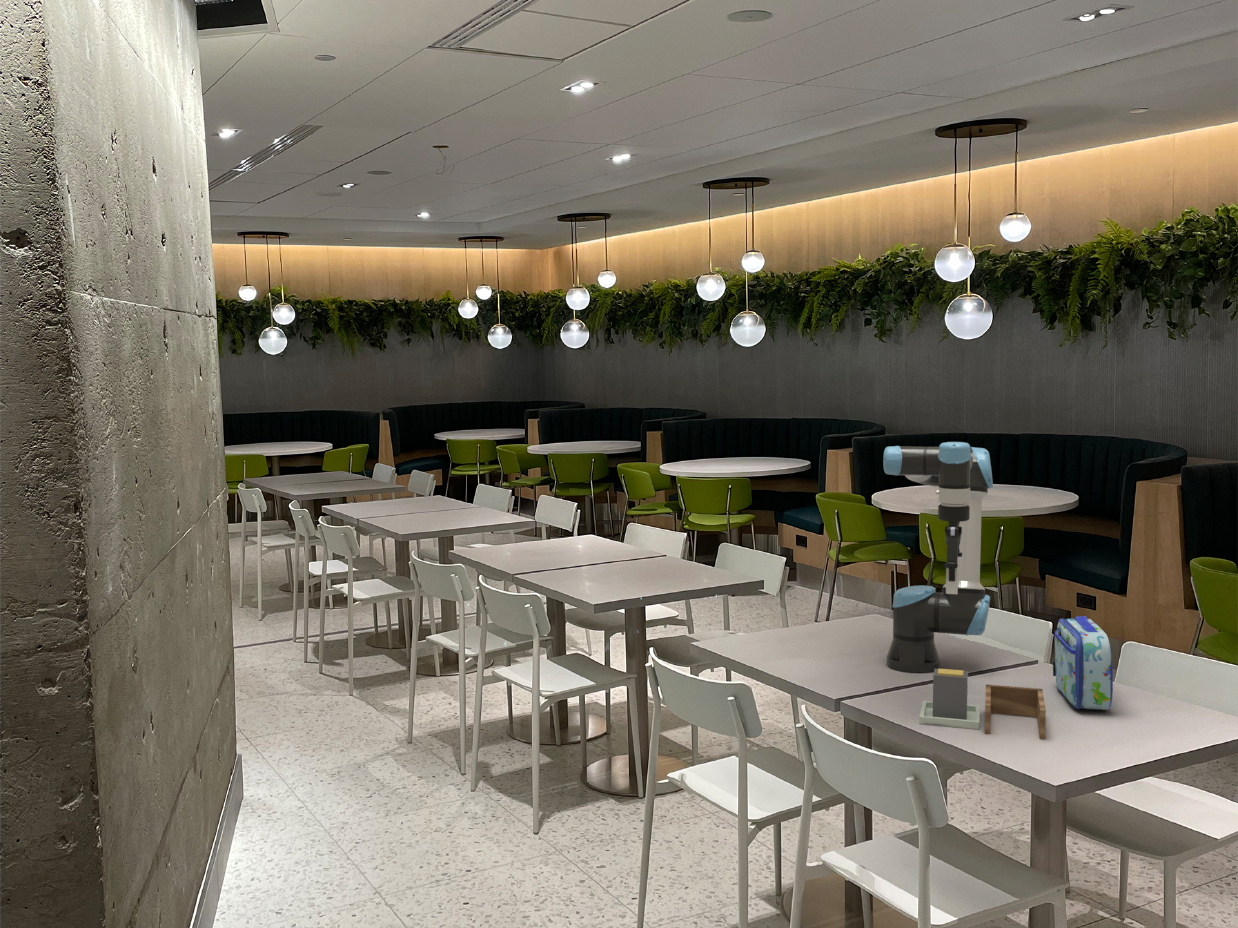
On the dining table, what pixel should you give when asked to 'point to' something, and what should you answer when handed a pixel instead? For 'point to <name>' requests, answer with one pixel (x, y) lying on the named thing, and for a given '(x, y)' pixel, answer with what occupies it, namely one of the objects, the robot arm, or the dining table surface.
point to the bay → (1015, 704)
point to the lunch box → (1083, 664)
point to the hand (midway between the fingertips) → (952, 587)
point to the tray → (970, 723)
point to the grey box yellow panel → (950, 693)
